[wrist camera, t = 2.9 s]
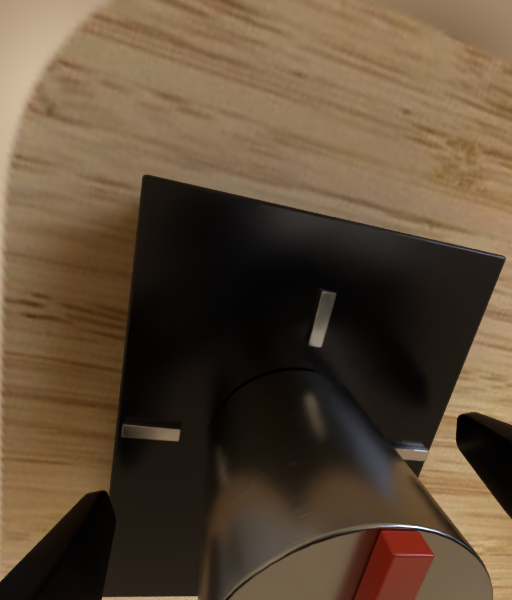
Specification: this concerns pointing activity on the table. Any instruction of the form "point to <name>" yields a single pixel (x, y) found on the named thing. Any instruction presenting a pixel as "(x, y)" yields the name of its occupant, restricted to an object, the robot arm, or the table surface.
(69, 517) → the robot arm
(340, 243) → the panel
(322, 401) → the dial
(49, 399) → the table surface
